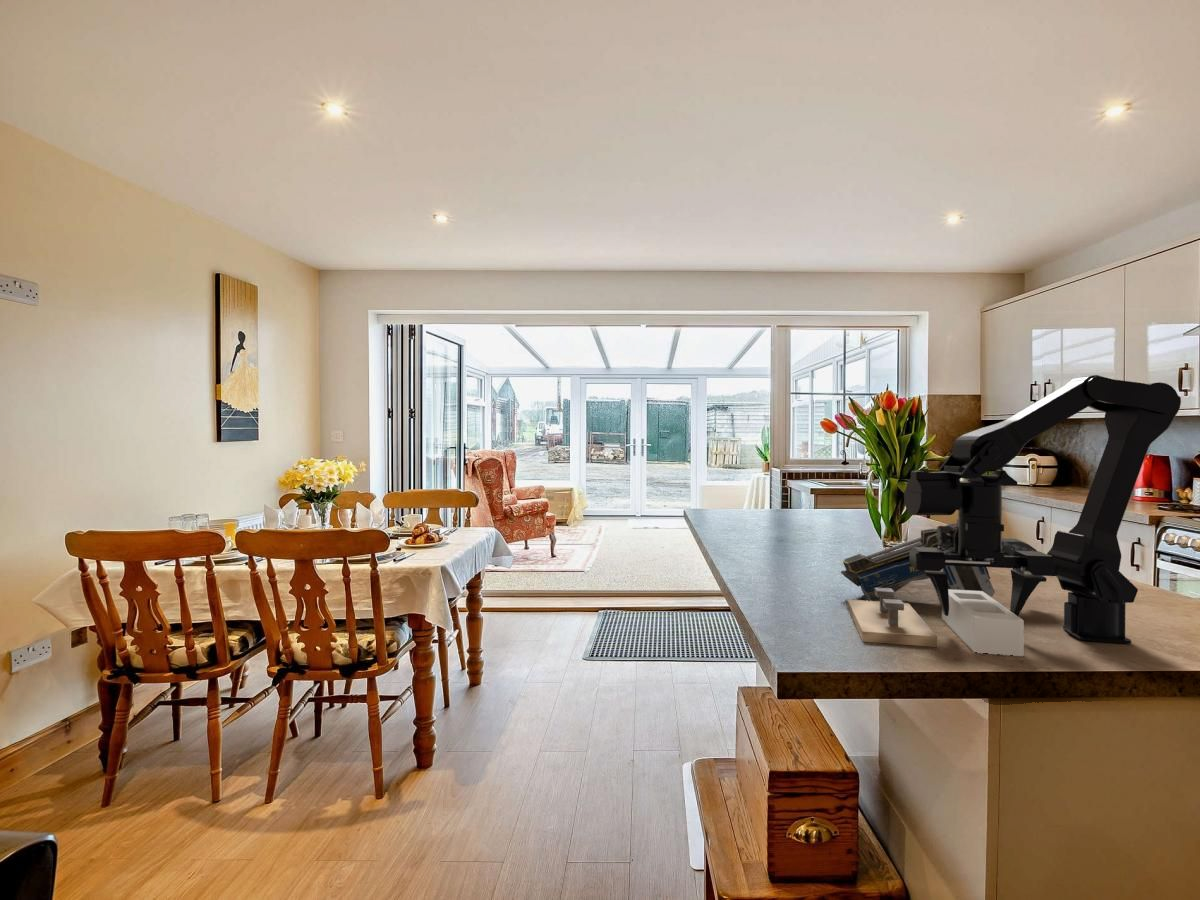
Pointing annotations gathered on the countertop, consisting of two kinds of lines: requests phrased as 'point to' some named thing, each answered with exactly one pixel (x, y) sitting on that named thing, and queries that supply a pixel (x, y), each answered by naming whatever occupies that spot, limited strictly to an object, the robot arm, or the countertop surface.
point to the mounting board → (890, 621)
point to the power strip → (984, 623)
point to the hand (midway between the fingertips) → (979, 617)
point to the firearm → (898, 571)
